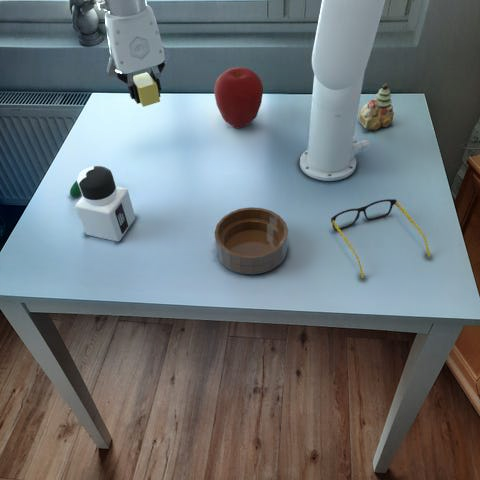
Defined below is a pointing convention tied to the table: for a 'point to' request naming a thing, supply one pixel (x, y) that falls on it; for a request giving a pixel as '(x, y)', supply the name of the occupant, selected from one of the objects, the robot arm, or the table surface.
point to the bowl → (251, 240)
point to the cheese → (146, 89)
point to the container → (103, 204)
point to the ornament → (377, 111)
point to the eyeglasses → (392, 202)
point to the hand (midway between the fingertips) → (146, 97)
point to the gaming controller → (75, 190)
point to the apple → (238, 96)
